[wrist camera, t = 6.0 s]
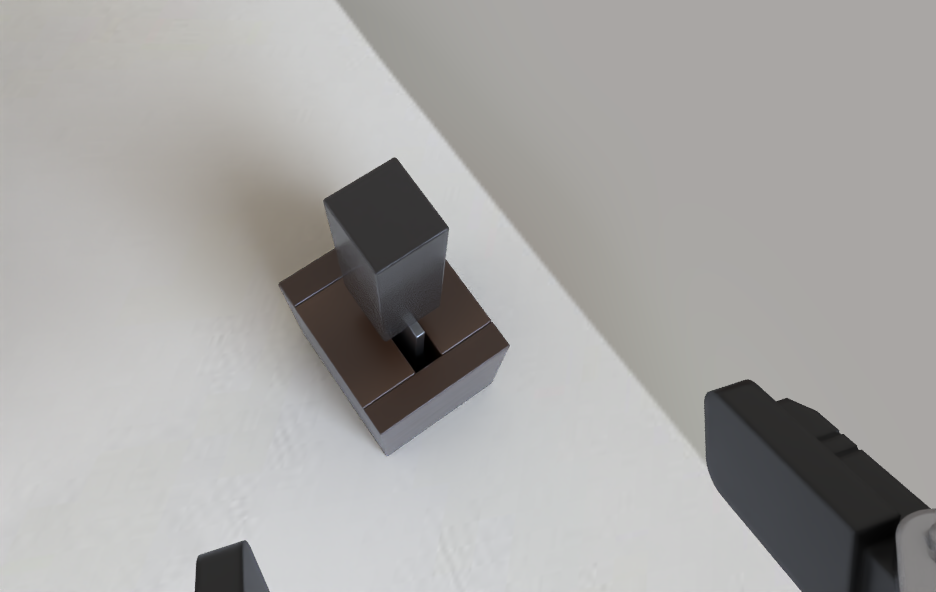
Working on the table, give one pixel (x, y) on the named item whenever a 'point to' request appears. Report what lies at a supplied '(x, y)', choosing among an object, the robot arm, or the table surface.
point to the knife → (390, 253)
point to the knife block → (396, 352)
